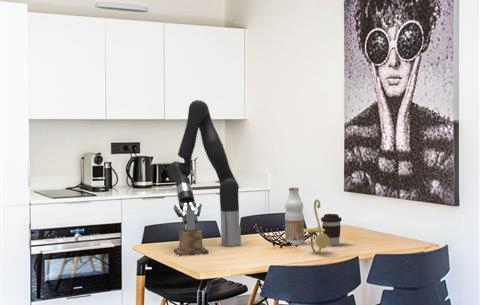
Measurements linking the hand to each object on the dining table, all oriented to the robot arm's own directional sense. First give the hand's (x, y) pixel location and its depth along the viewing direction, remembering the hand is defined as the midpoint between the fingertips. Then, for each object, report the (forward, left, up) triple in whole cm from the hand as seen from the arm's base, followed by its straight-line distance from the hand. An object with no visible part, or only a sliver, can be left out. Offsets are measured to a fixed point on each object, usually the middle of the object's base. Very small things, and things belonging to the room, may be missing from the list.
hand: (190, 222), depth 282 cm
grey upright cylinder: (0, -2, -4) cm, 5 cm away
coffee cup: (-69, +5, -15) cm, 71 cm away
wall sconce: (-53, +23, -15) cm, 60 cm away
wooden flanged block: (0, -2, -14) cm, 15 cm away
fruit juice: (-54, -6, -15) cm, 56 cm away
